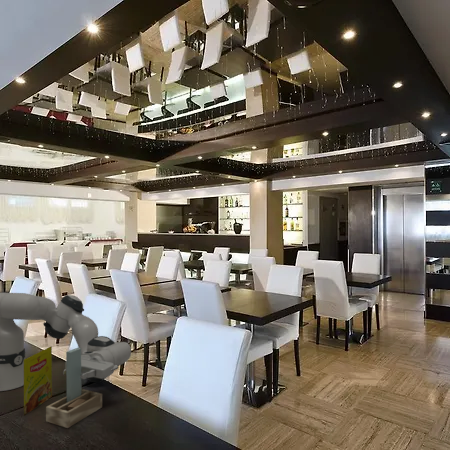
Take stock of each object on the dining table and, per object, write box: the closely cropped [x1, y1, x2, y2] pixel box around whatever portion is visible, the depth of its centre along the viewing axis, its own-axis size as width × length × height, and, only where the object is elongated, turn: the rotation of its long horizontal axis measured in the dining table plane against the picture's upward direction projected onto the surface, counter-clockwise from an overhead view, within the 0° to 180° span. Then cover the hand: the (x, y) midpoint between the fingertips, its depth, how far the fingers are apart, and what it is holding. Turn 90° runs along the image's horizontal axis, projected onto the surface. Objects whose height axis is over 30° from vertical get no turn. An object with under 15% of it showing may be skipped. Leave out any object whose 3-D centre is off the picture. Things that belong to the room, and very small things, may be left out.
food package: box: [23, 346, 53, 416], centre depth 142 cm, size 15×1×20 cm, turn 168°
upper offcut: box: [68, 399, 86, 411], centre depth 134 cm, size 3×6×2 cm, turn 162°
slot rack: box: [45, 388, 103, 429], centre depth 136 cm, size 10×16×5 cm, turn 155°
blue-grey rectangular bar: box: [65, 347, 82, 402], centre depth 139 cm, size 2×5×22 cm, turn 155°
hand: (73, 374), depth 138 cm, fingers open, 7 cm apart
